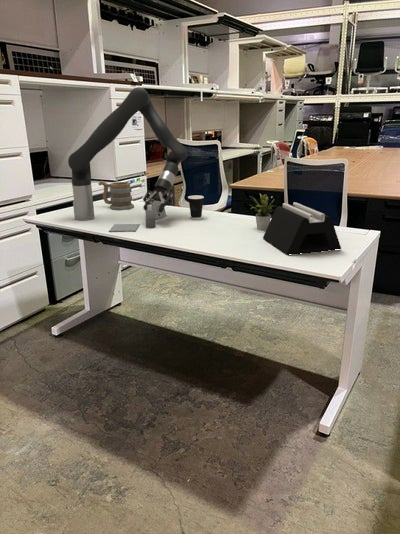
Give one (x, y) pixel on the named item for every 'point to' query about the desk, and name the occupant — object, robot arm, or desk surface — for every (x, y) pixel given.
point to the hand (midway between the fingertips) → (152, 210)
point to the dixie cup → (196, 206)
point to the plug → (150, 217)
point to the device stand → (301, 230)
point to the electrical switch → (155, 207)
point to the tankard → (118, 195)
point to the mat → (124, 228)
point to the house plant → (263, 213)
